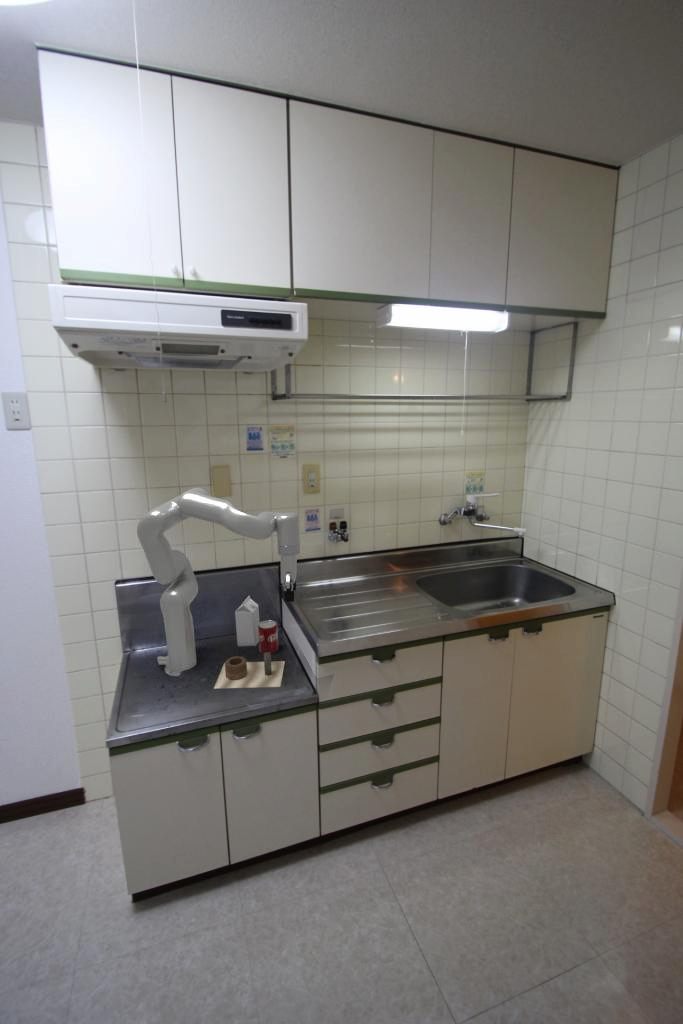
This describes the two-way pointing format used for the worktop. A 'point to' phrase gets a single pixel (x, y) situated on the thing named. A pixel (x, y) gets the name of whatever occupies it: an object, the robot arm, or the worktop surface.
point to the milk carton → (247, 623)
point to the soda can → (268, 636)
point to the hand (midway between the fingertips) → (290, 595)
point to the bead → (236, 668)
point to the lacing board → (255, 675)
